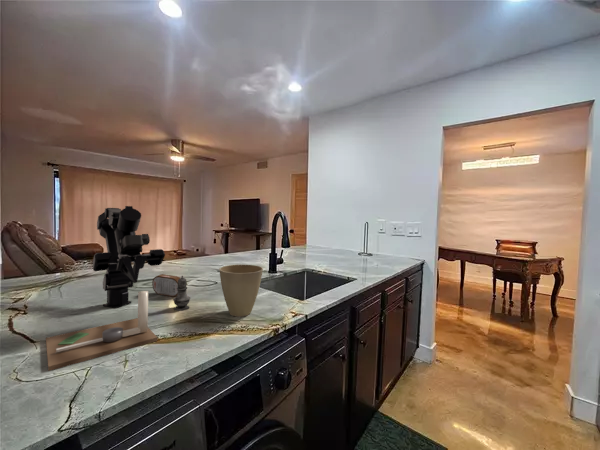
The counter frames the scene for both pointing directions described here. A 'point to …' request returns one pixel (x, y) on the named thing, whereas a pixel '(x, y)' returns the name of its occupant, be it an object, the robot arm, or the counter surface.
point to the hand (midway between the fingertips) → (135, 281)
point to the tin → (166, 285)
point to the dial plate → (93, 349)
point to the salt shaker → (181, 296)
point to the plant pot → (240, 287)
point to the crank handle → (118, 332)
